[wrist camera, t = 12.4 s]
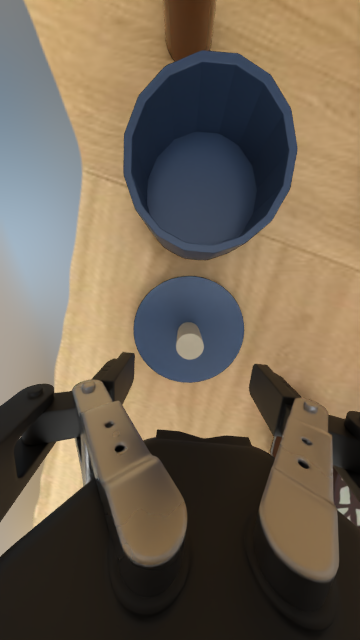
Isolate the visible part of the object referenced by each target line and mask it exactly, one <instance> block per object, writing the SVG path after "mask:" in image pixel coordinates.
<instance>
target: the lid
mask: <svg viewBox="0 0 360 640" xmlns="http://www.w3.org/2000/svg"><path fill="white" fill-rule="evenodd" d="M243 337H244V322H243V316H242V313H241V310H240V308H239V306H238V304H237V302H236V301H235V299H234V298H233V296H232V295H231V294H230V293H229V292H228V291H227V290H226V289H224V288H223V287H222V286H220V285H219V284H217V283H215V282H213V281H211V280H208V279H205V278H202V277H195V276H183V277H177V278H173V279H170V280H167V281H165V282H163V283H161V284H159V285H158V286H156V287H155V288H154V289H152V290H151V291H150V292H149V293H148V294H147V295H146V297H145V298H144V299H143V301H142V302H141V304H140V306H139V308H138V310H137V313H136V316H135V320H134V339H135V343H136V346H137V349H138V351H139V353H140V355H141V357H142V358H143V360H144V361H145V362H146V364H147V365H148V366H149V367H150V368H151V369H152V370H154V371H155V372H156V373H158V374H159V375H161V376H163V377H165V378H168V379H170V380H174V381H178V382H189V383H191V382H199V381H204V380H207V379H210V378H212V377H214V376H216V375H218V374H219V373H221V372H222V371H224V370H225V369H226V368H227V367H228V366H229V365H230V364H231V363H232V362H233V360H234V359H235V358H236V356H237V354H238V352H239V350H240V348H241V345H242V342H243Z"/></svg>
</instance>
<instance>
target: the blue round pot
mask: <svg viewBox="0 0 360 640" xmlns="http://www.w3.org/2000/svg"><path fill="white" fill-rule="evenodd" d="M296 155H297V142H296V136H295V130H294V124H293V117H292V111H291V108H290V106H289V104H288V103H287V101H286V99H285V98H284V96H283V94H282V93H281V91H280V89H279V88H278V86H277V84H276V83H275V81H274V79H273V78H272V76H271V75H270V74H269V73H267V72H266V71H264V70H263V69H261V68H260V67H258V66H257V65H255V64H254V63H252V62H251V61H249V60H248V59H246V58H245V57H243V56H242V55H240V54H238V53H227V52H216V51H204V50H202V51H199V52H196V53H194V54H192V55H189V56H187V57H185V58H182V59H180V60H178V61H175V62H173V63H171V64H168V65H166V66H165V67H164V68H163V69H162V70H161V71H160V72H159V73H158V74H157V76H156V77H155V78H154V79H153V80H152V81H151V82H150V83H149V84H148V86H147V87H146V88H145V89H144V90H143V91H142V92H141V93H140V95H139V97H138V98H137V101H136V104H135V107H134V109H133V112H132V115H131V117H130V120H129V123H128V125H127V128H126V131H125V133H124V177H125V180H126V183H127V186H128V189H129V192H130V195H131V198H132V201H133V204H134V207H135V209H136V211H137V212H138V214H139V215H140V217H141V218H142V220H143V221H144V222H145V224H146V225H147V227H148V228H149V230H150V231H151V232H152V233H153V235H154V236H155V237H156V238H157V240H158V241H159V242H160V243H161V244H162V246H163V247H164V248H166V249H168V250H170V251H171V252H173V253H174V254H176V255H179V256H181V257H183V258H186V259H194V260H208V259H211V258H215V257H218V256H221V255H224V254H227V253H229V252H230V251H232V250H234V249H236V248H237V247H239V246H241V245H243V244H244V243H246V242H247V241H249V240H250V239H251V238H252V237H253V236H254V235H256V234H257V233H258V232H259V231H260V230H262V229H263V228H264V227H265V226H266V225H267V224H269V223H270V222H271V221H272V219H273V218H274V216H275V214H276V213H277V211H278V209H279V207H280V206H281V204H282V202H283V200H284V199H285V197H286V195H287V193H288V192H289V190H290V187H291V181H292V176H293V171H294V165H295V160H296Z"/></svg>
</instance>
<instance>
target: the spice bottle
mask: <svg viewBox="0 0 360 640" xmlns="http://www.w3.org/2000/svg"><path fill="white" fill-rule="evenodd" d="M163 8H164V22H165V35H166V44H167V48H168V50H169V53H170V55H171V56H172V58H173V59H174V60H175V61H178V60H180V59H182V58H185V57H187V56H189V55H192V54H194V53H196V52H199V51H202V50H204V51H209V48H210V46H211V41H212V33H213V25H214V17H215V8H216V0H163Z"/></svg>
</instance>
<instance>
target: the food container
mask: <svg viewBox="0 0 360 640" xmlns="http://www.w3.org/2000/svg"><path fill="white" fill-rule="evenodd" d="M281 439H282V437H278V436H274V439H273V444H272V448H271V455H272V456H273V457H276V454H277V451H278V448H279V445H280V442H281ZM333 501H334V505H335V506H336V508H337V510H338V511H339V512H340V513H342V514H343V515H344V516H345V517H346V518H348V519H349V520H350V521H351V522H352V523H354V524H355V525H356V526H357V527H358V528H359V529H360V503H359V501H358V500H357V498H356V497H355V496H354V494H353V493H352V492H351V490H350V489H349V487H348V486H347V485H346V483H345V482H344V481H343V479H342V478H341V476H340V475H339V474H338V472H337V471H336V470H335V468H334V467H333Z"/></svg>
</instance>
